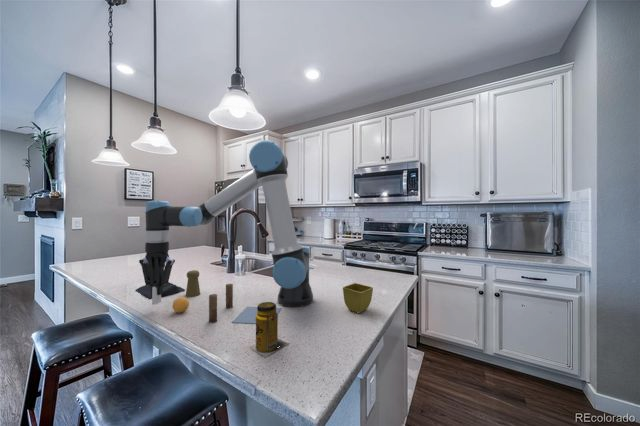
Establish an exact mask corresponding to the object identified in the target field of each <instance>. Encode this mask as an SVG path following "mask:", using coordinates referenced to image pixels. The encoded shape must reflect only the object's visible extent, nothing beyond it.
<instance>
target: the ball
mask: <svg viewBox="0 0 640 426" xmlns="http://www.w3.org/2000/svg"><path fill="white" fill-rule="evenodd" d="M171 307H172V310H173V311H174V312H175V313H179V314H180V313H184V312H186V311H187V310H188V308H189V307H190V301H189V299H188V297H186V296H185V297H184V296H181V297H177V298H176V299H175V300H174V301H173V302H172V306H171Z"/></svg>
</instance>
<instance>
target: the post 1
mask: <svg viewBox="0 0 640 426" xmlns="http://www.w3.org/2000/svg"><path fill="white" fill-rule="evenodd" d="M217 321H218V294H217V293H212V294H209V295H208V322H209V323H210V324H213V323H216V322H217Z"/></svg>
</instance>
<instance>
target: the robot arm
mask: <svg viewBox="0 0 640 426" xmlns="http://www.w3.org/2000/svg"><path fill="white" fill-rule="evenodd" d="M248 157H249V158H248V161H249V163H250V166H252V170H250V171H249V172H247V173H246V174H244V175H243V176H241V177H240V178H239V179H237V180H236V181H234V182H232V183H231V184H230V185H228V186H227V187H225V188H224V189H222V190H221V191H219V192H218V193H216V194H215V195H213V196H212V197H211V198H209V199H206V201H204V202H203V203H202V204H200V205H199V206H171V204H170V202H169V201H166V200H164V201H163V200H149V201H147V202H146V205H145V211H144V212H145V233H144V234H145V235H144V239H145V242H146V243H145V245H144V246H145V247H144V249H145V252H146V254H145V257H144V258H141V259H139V260H138V262H139V264H140V266H141V270H142V275H143V278H144V283H145V284H144V285H150V287H151V295H152V299H151V304H152V305H155V306H157V305H158V304H160V303H161V302H162V297H161V294H162V293H163V285H165V284H168V282H170V281H169V280H170V276H171V273H172V268H173V266H174V264H175V262H176V260H175V259H172V258H170V255H169V250H170V242H169V240H170V227H186V228H187V227H188V228H190V227H191V228H193V227H199V225H201V226H202V225H203V226H205V225H208V224H210V223H212V222H213V221H214V218H216V217H218V216H219V215H220V214H222V213H223V212H225V211H227V210H228V209H229V208H231V207H232V206H234V205H235V204H237V203H238V202H240V201H242V200H243V199H244V198H245V197H247V196H248V195H249V196H250V194H252V193H253V192H254V191H256V190H258V189H259V188H260V187H262V191H263V196H264V200H265V201H264V202H265V206H266V211H267V216H268V222H269V227H270V230H271V236H272V240H273V241H272V242H273V247H274V249H273V251H272V252H271V258H272V262H273V266H272V267H273V268H272V278H273V280H274V282H275V284H277V285H278V286H279V287H280V288H279V291H278V295H277V303H278V304H279V305H280V306H283V307H289V308H300V307H304V306H308V305H310V304H312V303H313V302H312V301H314V294H313V293H314V292H313V291H312V287H311V284H310V249H309V248H308V247H305V246H304V247H303V245H301V244H299V243H298V240H297V234H296V229H295V226H294V220H293V219H294V218H293V215H292V214H293V213H292V209H291V205H290V200H289V194H288V190H287V186H286V185H287V184H286V180H287V179H288V177H289V175H288V166H289V162H288V157H287V155H286V154H285V153H284V151H283V150H282V148H281V146H279V145H278V144H277V143H276V142H274V141H272V140H268V139H267V140H266V139H265V140H259V141H257V142H256V143H255V144H254V145H253V146H252V147H251V149H250V151H249V154H248Z"/></svg>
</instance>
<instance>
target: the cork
mask: <svg viewBox="0 0 640 426" xmlns="http://www.w3.org/2000/svg"><path fill="white" fill-rule="evenodd" d="M199 277H200V271H199V270H196V269H193V270H189V271H188V272H186V278H187V284H186V289H185V298H193V297H194V298H195V297H197V296H200V295H201V289H200V281H199Z"/></svg>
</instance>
